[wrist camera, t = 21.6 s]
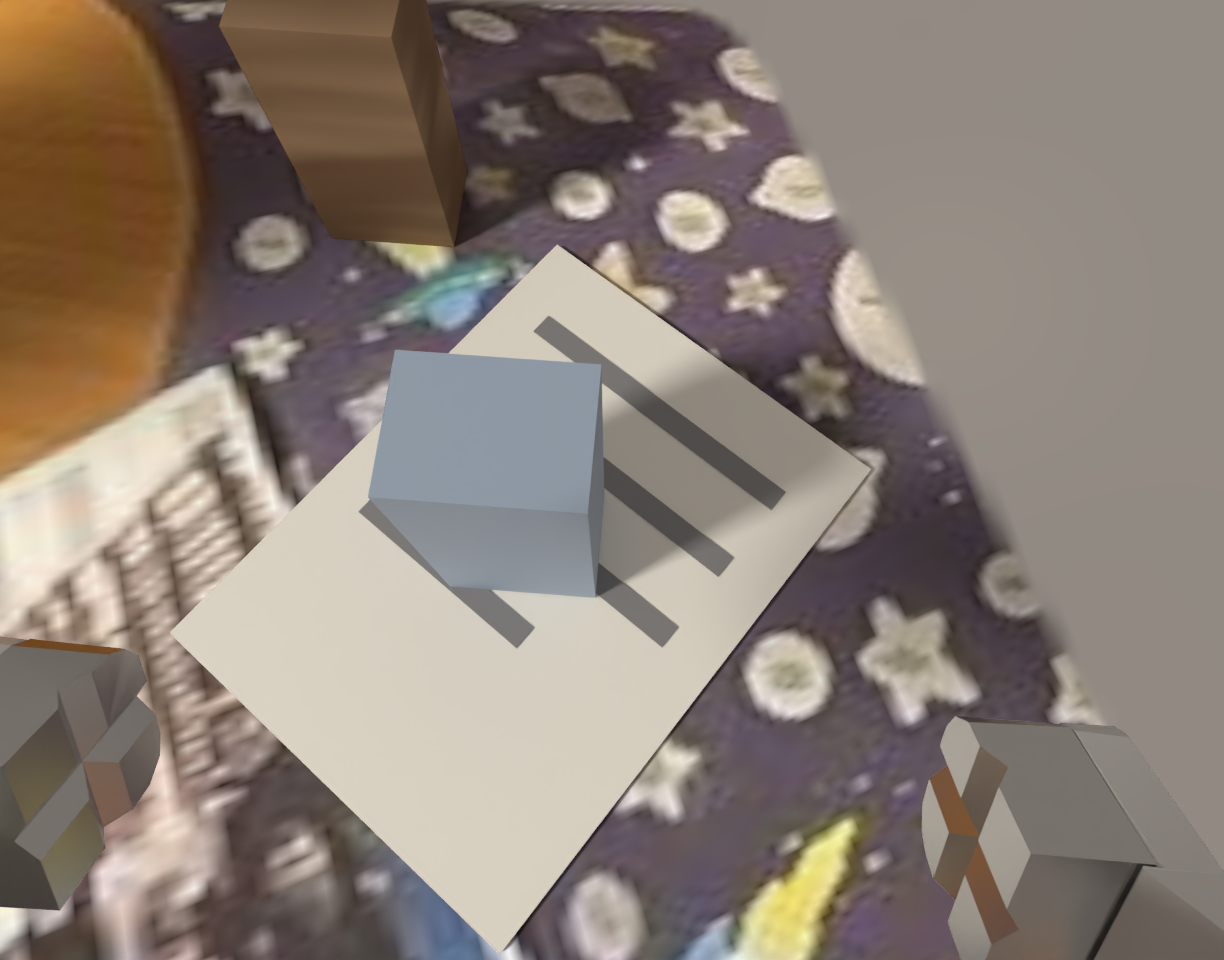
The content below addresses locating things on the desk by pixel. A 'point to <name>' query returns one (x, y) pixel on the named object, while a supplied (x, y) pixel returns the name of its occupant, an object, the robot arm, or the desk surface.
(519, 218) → the desk surface
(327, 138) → the walnut block
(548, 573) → the slate block
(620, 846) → the desk surface
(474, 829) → the letter
